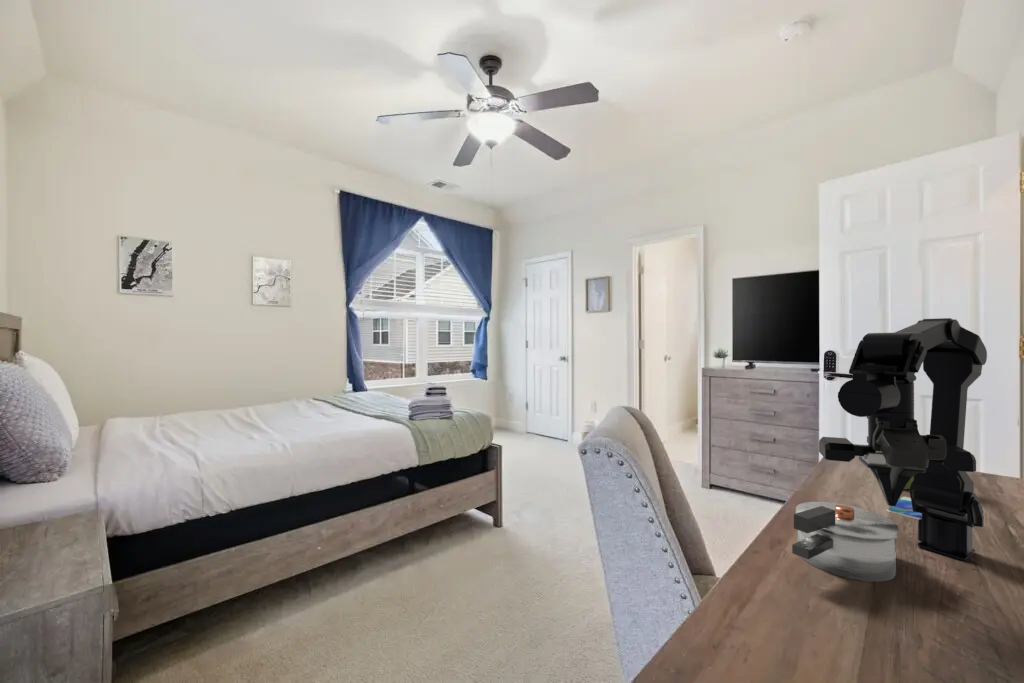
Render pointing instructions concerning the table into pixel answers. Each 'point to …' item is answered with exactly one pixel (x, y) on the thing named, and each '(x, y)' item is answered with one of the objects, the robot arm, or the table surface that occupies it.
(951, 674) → the table surface
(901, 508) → the smartphone
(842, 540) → the pressure cooker pot
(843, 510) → the cooker lid
